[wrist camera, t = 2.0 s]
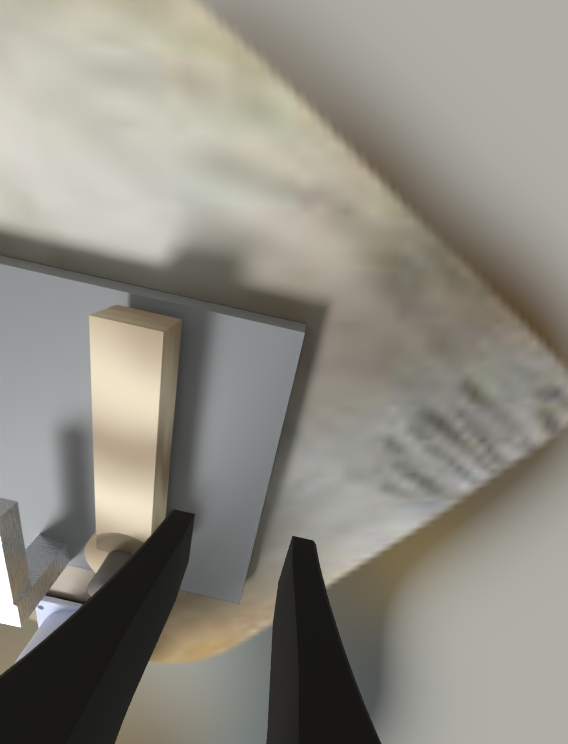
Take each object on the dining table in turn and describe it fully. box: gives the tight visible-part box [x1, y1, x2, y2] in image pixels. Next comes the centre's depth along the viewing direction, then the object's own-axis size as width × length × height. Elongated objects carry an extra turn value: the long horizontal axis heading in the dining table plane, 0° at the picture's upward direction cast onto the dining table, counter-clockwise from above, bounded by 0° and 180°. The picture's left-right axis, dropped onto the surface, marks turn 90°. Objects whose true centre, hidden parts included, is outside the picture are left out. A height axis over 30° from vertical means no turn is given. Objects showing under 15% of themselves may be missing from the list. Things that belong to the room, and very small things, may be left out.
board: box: [0, 255, 306, 604], centre depth 20 cm, size 20×20×2 cm
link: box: [85, 305, 182, 597], centre depth 17 cm, size 16×4×4 cm, turn 168°
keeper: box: [0, 498, 70, 627], centre depth 20 cm, size 8×2×4 cm, turn 168°
